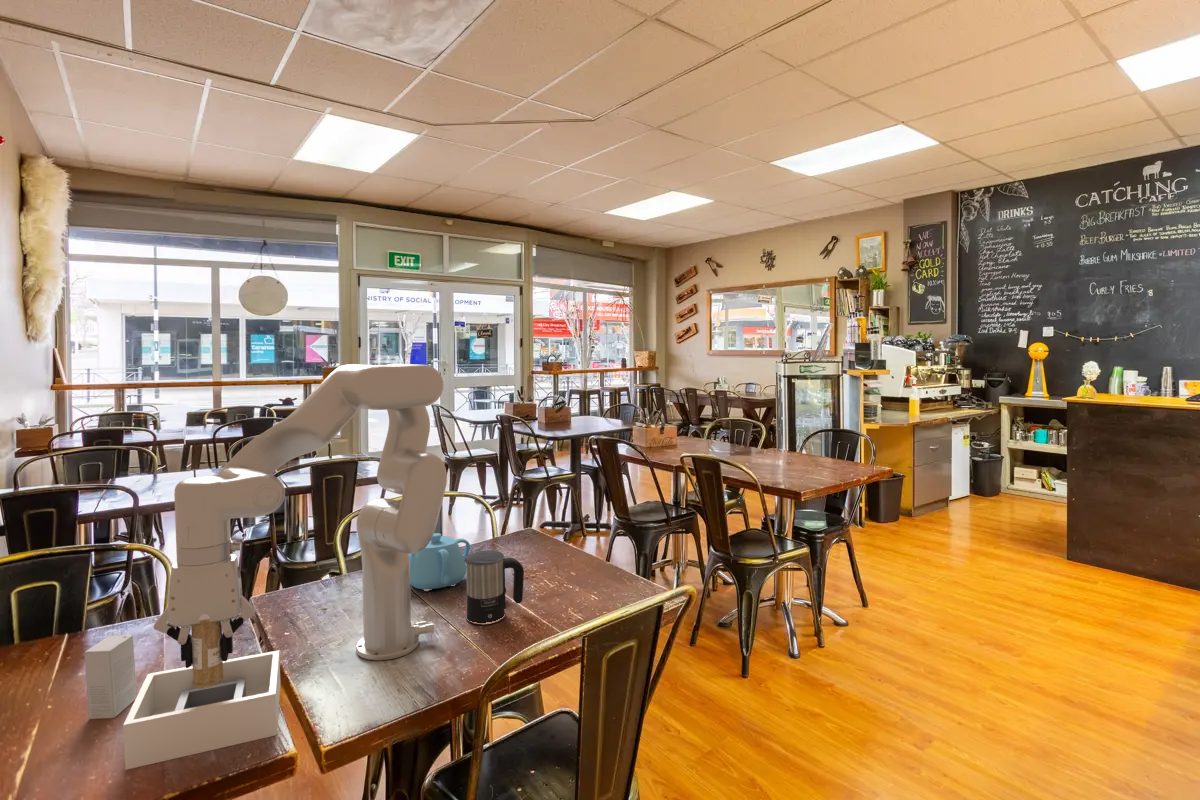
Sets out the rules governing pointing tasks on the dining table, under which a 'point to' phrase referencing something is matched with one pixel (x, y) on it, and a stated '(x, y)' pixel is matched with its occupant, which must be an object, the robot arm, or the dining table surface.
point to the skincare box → (110, 676)
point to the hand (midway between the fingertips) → (207, 659)
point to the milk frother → (490, 585)
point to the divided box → (203, 711)
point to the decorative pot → (438, 563)
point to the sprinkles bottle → (206, 653)
